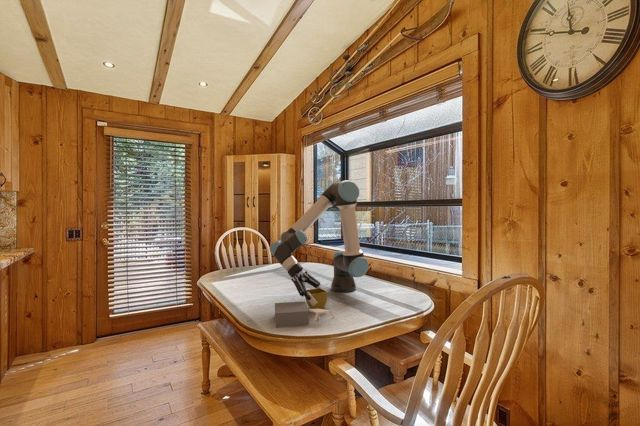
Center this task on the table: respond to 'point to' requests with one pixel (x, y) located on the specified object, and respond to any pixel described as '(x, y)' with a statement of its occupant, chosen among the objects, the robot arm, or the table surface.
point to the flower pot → (318, 298)
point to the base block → (291, 314)
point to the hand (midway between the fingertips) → (320, 300)
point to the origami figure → (320, 311)
